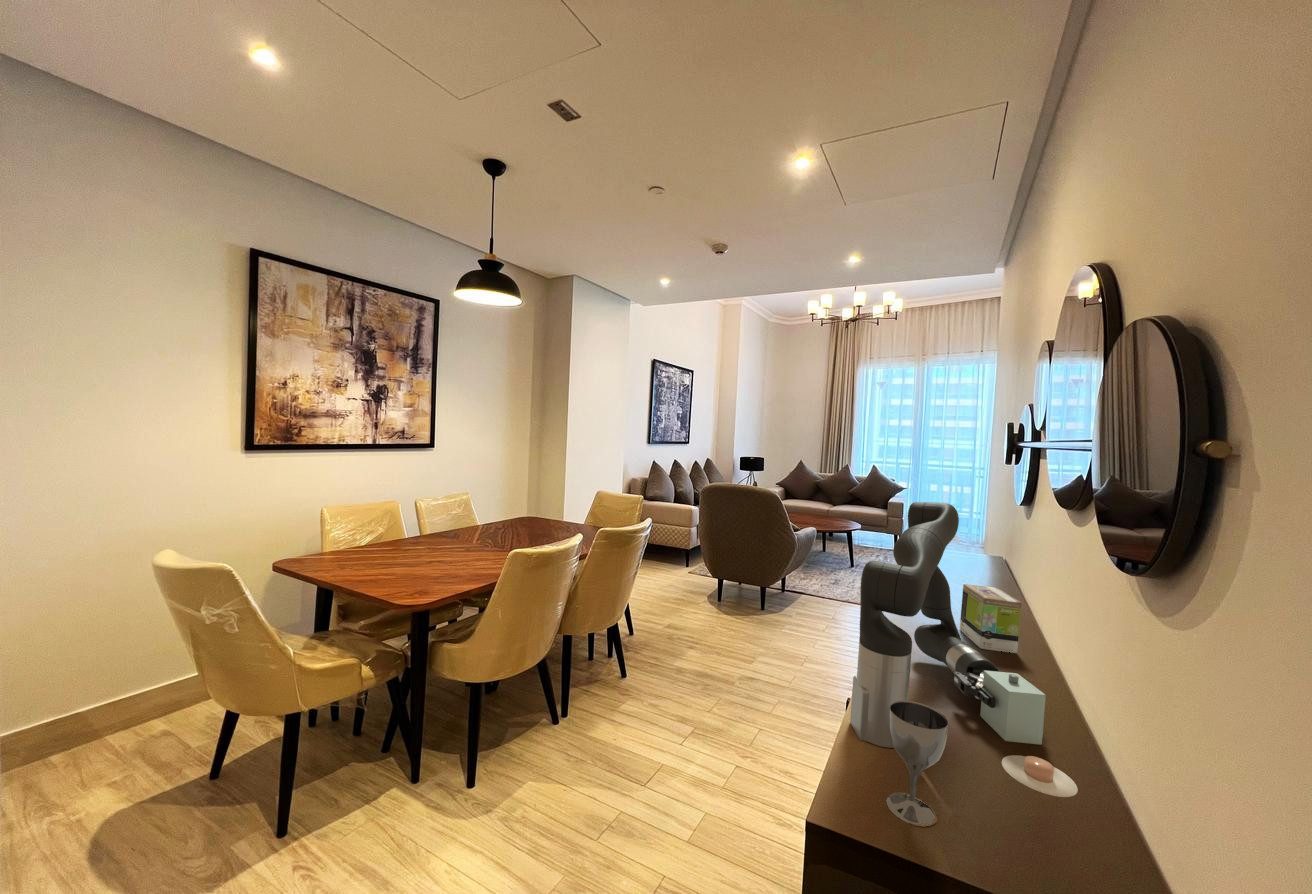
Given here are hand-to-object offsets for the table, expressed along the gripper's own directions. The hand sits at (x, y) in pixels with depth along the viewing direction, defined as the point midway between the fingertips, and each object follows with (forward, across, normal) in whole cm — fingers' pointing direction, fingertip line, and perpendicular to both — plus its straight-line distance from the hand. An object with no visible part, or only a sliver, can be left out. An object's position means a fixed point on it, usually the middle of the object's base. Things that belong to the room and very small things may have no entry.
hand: (1016, 705), depth 98 cm
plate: (+12, -4, +6) cm, 14 cm away
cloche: (-2, 0, +6) cm, 6 cm away
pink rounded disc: (+12, -4, +6) cm, 14 cm away
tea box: (-51, +23, +7) cm, 57 cm away
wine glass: (+24, -29, +7) cm, 38 cm away
